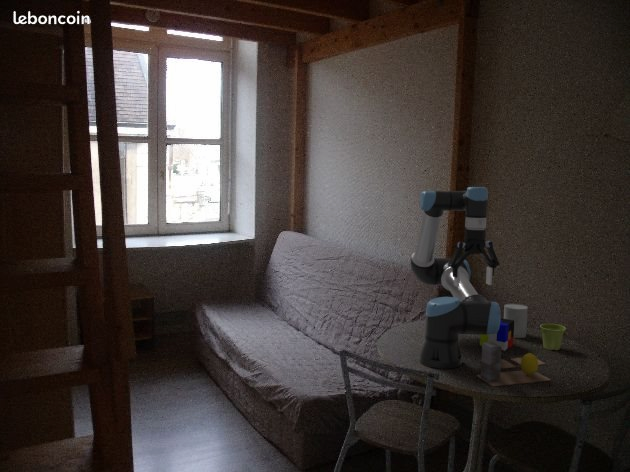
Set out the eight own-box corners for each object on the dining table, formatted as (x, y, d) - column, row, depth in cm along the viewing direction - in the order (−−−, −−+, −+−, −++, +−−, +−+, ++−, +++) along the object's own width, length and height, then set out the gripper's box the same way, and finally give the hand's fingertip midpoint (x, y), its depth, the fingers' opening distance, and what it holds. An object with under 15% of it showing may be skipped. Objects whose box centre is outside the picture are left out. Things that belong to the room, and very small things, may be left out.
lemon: (534, 372, 200) (535, 350, 199) (539, 378, 195) (541, 355, 194) (517, 372, 200) (519, 350, 200) (523, 378, 195) (524, 355, 194)
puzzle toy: (504, 350, 226) (505, 325, 225) (479, 345, 232) (480, 321, 231) (513, 344, 234) (514, 320, 233) (488, 339, 240) (490, 316, 239)
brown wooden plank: (492, 369, 204) (492, 368, 204) (480, 362, 212) (480, 361, 212) (546, 364, 210) (546, 363, 210) (532, 357, 218) (532, 356, 218)
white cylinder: (504, 330, 254) (505, 302, 253) (527, 333, 250) (529, 305, 249) (501, 335, 246) (502, 307, 244) (524, 339, 242) (526, 310, 240)
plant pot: (556, 353, 223) (558, 331, 222) (534, 347, 230) (535, 326, 229) (569, 348, 229) (570, 327, 228) (546, 343, 236) (547, 322, 235)
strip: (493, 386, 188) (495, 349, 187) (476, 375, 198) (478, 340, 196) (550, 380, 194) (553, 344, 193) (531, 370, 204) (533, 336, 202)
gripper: (450, 230, 208) (447, 288, 210) (510, 229, 215) (507, 285, 217) (440, 228, 215) (437, 284, 217) (498, 227, 222) (496, 281, 224)
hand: (472, 285), depth 217 cm, fingers open, 13 cm apart
